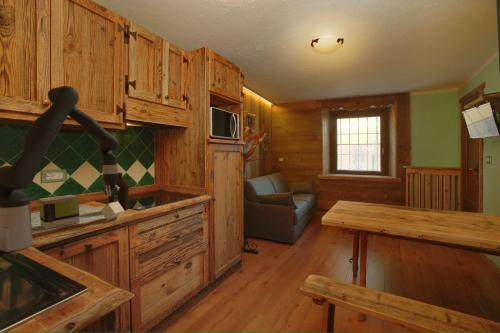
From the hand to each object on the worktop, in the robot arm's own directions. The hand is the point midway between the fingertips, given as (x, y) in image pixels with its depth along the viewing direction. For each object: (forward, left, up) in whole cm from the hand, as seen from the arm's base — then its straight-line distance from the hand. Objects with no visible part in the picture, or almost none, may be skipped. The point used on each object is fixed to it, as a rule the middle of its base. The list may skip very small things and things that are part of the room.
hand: (111, 202), depth 139 cm
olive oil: (+18, +15, -10) cm, 25 cm away
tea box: (-18, +16, -10) cm, 26 cm away
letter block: (0, +2, -2) cm, 3 cm away
